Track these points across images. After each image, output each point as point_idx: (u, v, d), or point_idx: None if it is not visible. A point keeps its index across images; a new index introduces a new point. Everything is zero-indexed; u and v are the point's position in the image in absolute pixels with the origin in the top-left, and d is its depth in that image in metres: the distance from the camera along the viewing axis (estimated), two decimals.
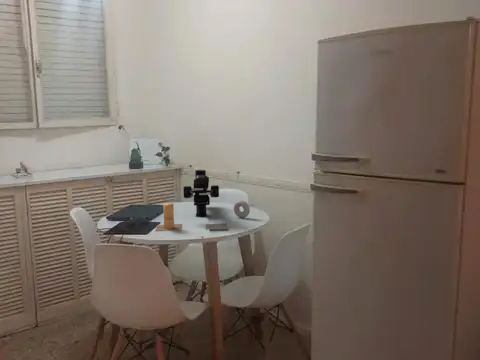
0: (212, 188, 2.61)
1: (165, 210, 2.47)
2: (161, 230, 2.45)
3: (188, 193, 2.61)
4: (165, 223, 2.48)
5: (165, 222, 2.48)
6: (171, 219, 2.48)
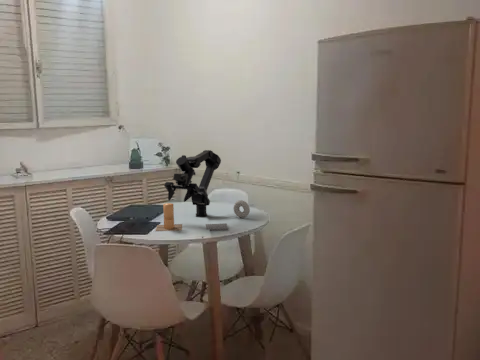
0: (188, 190, 2.55)
1: (165, 210, 2.47)
2: (161, 230, 2.45)
3: None
4: (165, 223, 2.48)
5: (165, 222, 2.48)
6: (171, 219, 2.48)
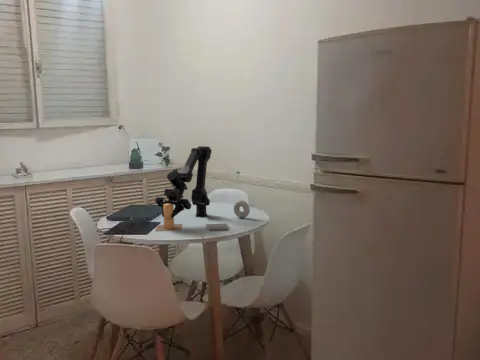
0: (176, 205, 2.49)
1: (165, 210, 2.47)
2: (161, 230, 2.45)
3: None
4: (165, 223, 2.48)
5: (165, 222, 2.48)
6: (171, 219, 2.48)
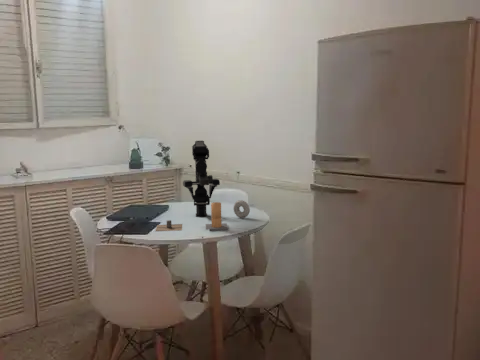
0: (213, 187, 2.62)
1: (217, 209, 2.49)
2: (161, 230, 2.45)
3: None
4: (216, 222, 2.49)
5: (216, 221, 2.49)
6: None
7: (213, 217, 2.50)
